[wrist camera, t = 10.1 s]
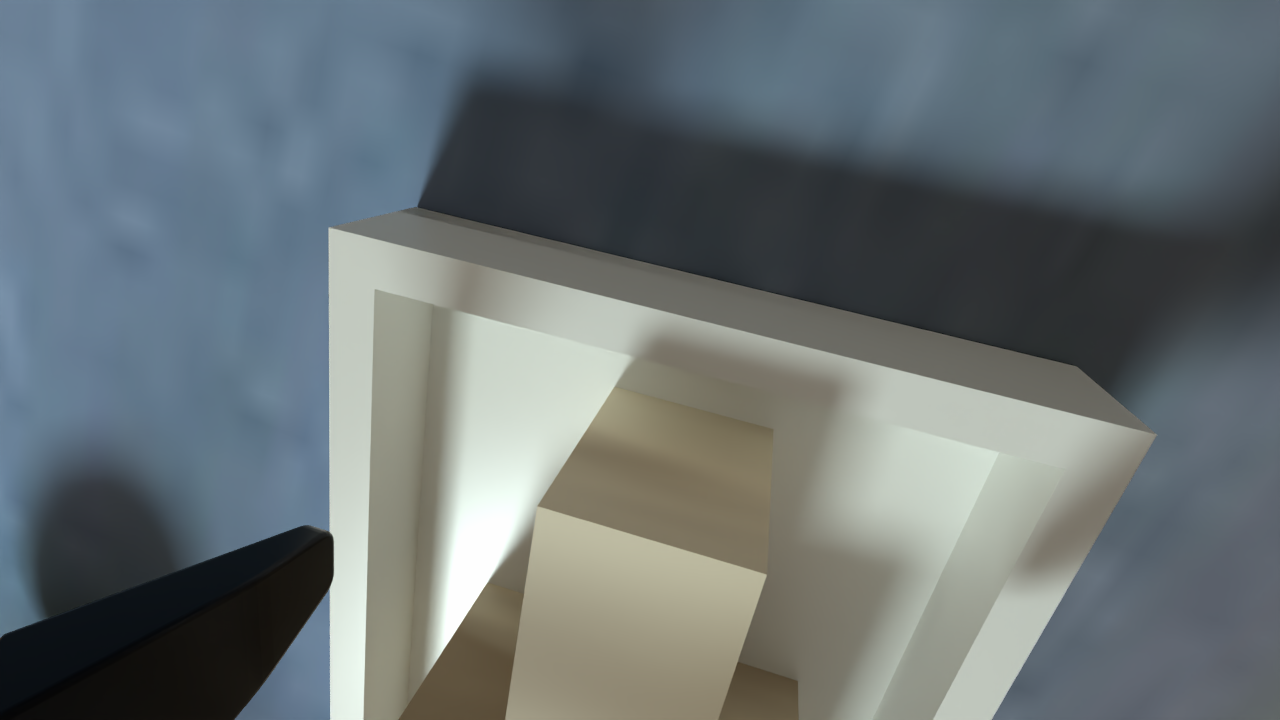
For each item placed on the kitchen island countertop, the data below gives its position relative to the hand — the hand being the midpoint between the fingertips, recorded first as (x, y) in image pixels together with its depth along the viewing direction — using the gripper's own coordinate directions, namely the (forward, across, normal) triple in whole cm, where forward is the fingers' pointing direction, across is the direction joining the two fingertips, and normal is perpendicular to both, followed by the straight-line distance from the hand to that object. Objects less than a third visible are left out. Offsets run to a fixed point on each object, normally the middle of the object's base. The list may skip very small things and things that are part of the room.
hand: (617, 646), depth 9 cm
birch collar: (+4, 0, +4) cm, 6 cm away
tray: (+4, 0, +4) cm, 6 cm away
